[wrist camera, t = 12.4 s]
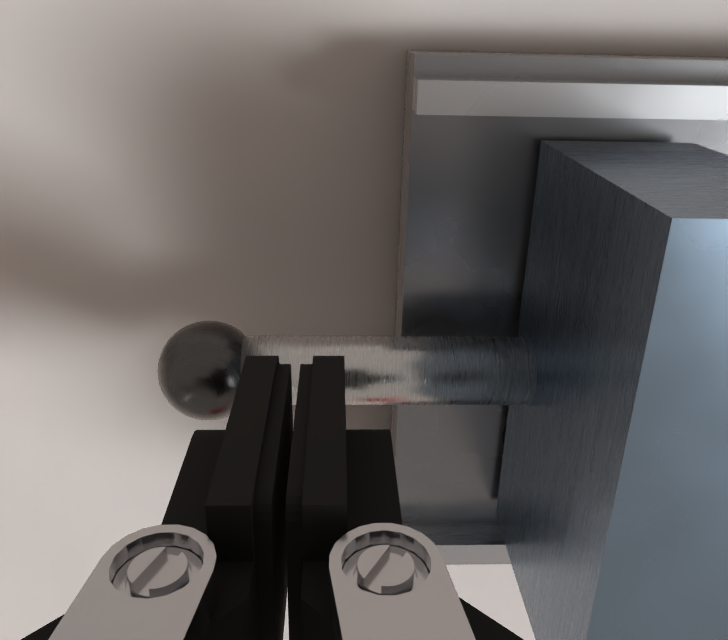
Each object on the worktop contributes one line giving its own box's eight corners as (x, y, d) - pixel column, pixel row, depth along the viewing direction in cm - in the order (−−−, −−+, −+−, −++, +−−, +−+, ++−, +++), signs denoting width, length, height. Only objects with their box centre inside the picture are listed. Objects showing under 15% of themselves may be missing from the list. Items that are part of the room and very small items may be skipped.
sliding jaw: (187, 516, 17) (119, 743, 11) (148, 133, 13) (23, 211, 8) (615, 513, 17) (738, 731, 12) (692, 142, 14) (917, 220, 8)
